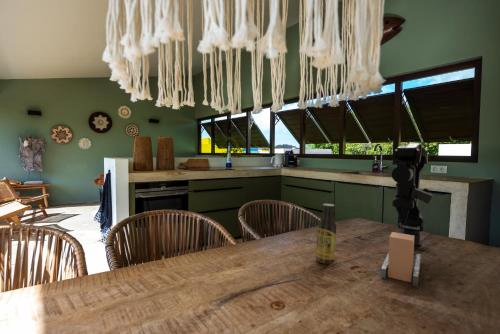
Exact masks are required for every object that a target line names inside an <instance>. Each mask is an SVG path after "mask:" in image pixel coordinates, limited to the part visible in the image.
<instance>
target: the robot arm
mask: <svg viewBox="0 0 500 334" xmlns="http://www.w3.org/2000/svg"><path fill="white" fill-rule="evenodd" d="M428 153H429V152H428V150H426V149H425V148H424V147H423V144H422V143H420V142H410V143H407V145H405V146H397V148H396V149H395V150H394V155H393V159H392V163H391V164H392V165H393V166H396V167H395V168H393V170H392V171H391V178H392V180H393V181H394V182H395V187H396V190H395V191H396V192H395V196H394V197H395V198H394V199H393V200H392V207H394V208H395V209H396V212H397V214H398V215H397V228H398V229H400V233H402V234H408V235H414V247H415V246H417V247H418V246H422V245H423V244H422V243H420V242H421V232H424V231H425V220H424V219H423V216H422V213H421V211H420V209H419V207H418V205H419V204H418V203H419V201H421V202H423V203H425V204H427V205H429V204H430V203H431V201H432V199H433V198H434V194H432V193H430V189H428V188H426V187H425V188H423V189H420V184H421V183H420V182H421V175H422V173H423V172H424V171H425V170H426V167H427V165H428V162H429V154H428Z"/></svg>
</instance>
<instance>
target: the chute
mask: <svg viewBox="0 0 500 334" xmlns="http://www.w3.org/2000/svg"><path fill="white" fill-rule="evenodd" d="M421 258H422V256H421V254H420V253H416V256H415V261H414V265H413V275H412V286H413V287H416V288H418V286H419V285H418V284H419V276H420V268H421ZM388 259H389V251H388V253H387V255H386V257H385V258H384V262H383V263H382V265H381V269H380V278H381V279H384V280H386V279H387V277H388Z"/></svg>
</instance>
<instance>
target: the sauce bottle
mask: <svg viewBox="0 0 500 334" xmlns="http://www.w3.org/2000/svg"><path fill="white" fill-rule="evenodd" d="M321 208H322V214H321V218H320V220H319V223H318V227H317V232H316V233H317V234H316V248H315V258H316V259H315V260H316V261H317V262H318V263H321V264H325V265H330V264H331V263H332V262H333V261H334V260H335V257H336V256H335V255H336V254H335V253H336V243H337V242H336V241H337V223H336V221H335V216H334V215H335V214H334V213H335V209H336V205H335V204H333V203H322V207H321Z"/></svg>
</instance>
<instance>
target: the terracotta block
mask: <svg viewBox="0 0 500 334" xmlns="http://www.w3.org/2000/svg"><path fill="white" fill-rule="evenodd" d="M390 233H391V234H390V235H389V236H388V237H389V239H388V240H389V241H388V252H389V259H388V273H387V277H388V278H392V279H395V280H399V281H404V282H406V283H407V282H408V283H412V282H413V272H414V255H415V254H414V252H415V251H414V250H415V246H414V235H408V234H402V233H401V232H400V233H399V232H393V231H391V232H390Z"/></svg>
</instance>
